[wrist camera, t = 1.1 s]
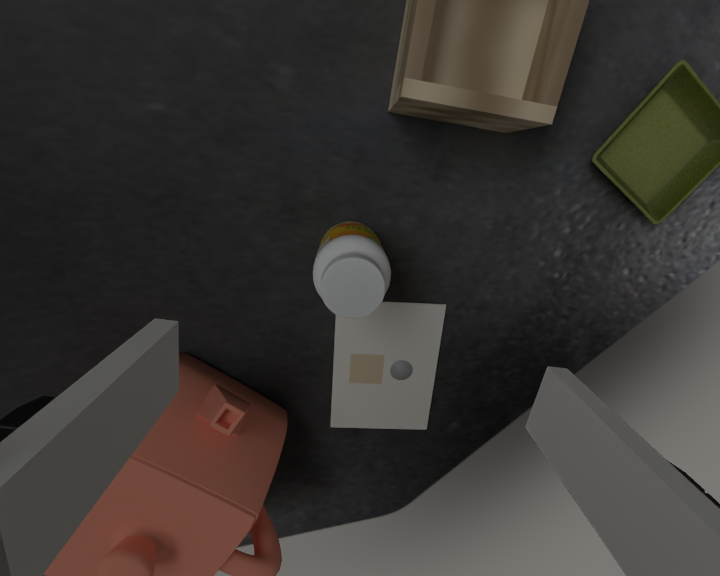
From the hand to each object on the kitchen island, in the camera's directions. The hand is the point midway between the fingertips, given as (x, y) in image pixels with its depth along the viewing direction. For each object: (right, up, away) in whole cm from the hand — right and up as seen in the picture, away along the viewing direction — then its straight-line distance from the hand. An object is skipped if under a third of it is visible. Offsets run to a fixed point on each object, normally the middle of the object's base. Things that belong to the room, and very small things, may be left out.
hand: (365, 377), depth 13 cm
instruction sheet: (+2, -5, +22) cm, 22 cm away
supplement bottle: (-1, +6, +18) cm, 19 cm away
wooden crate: (+7, +20, +13) cm, 26 cm away
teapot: (-15, -9, +23) cm, 29 cm away
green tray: (+24, +15, +17) cm, 32 cm away
